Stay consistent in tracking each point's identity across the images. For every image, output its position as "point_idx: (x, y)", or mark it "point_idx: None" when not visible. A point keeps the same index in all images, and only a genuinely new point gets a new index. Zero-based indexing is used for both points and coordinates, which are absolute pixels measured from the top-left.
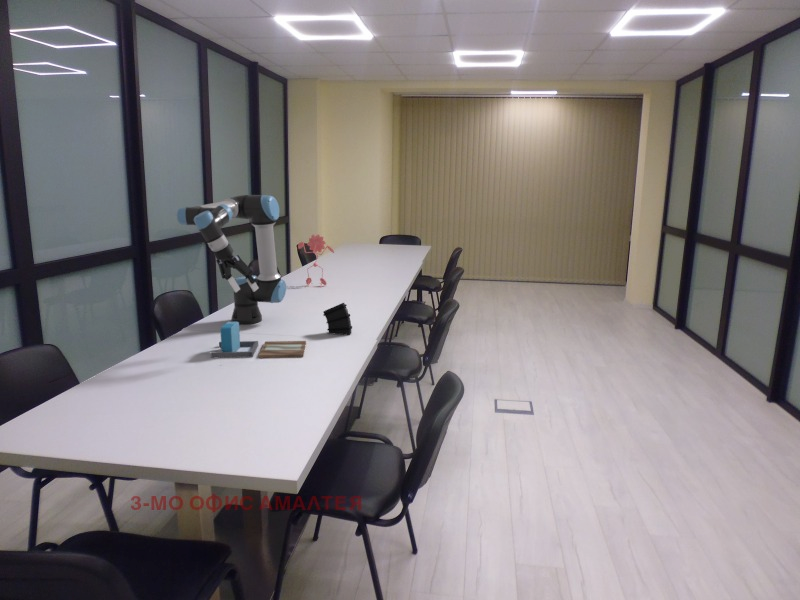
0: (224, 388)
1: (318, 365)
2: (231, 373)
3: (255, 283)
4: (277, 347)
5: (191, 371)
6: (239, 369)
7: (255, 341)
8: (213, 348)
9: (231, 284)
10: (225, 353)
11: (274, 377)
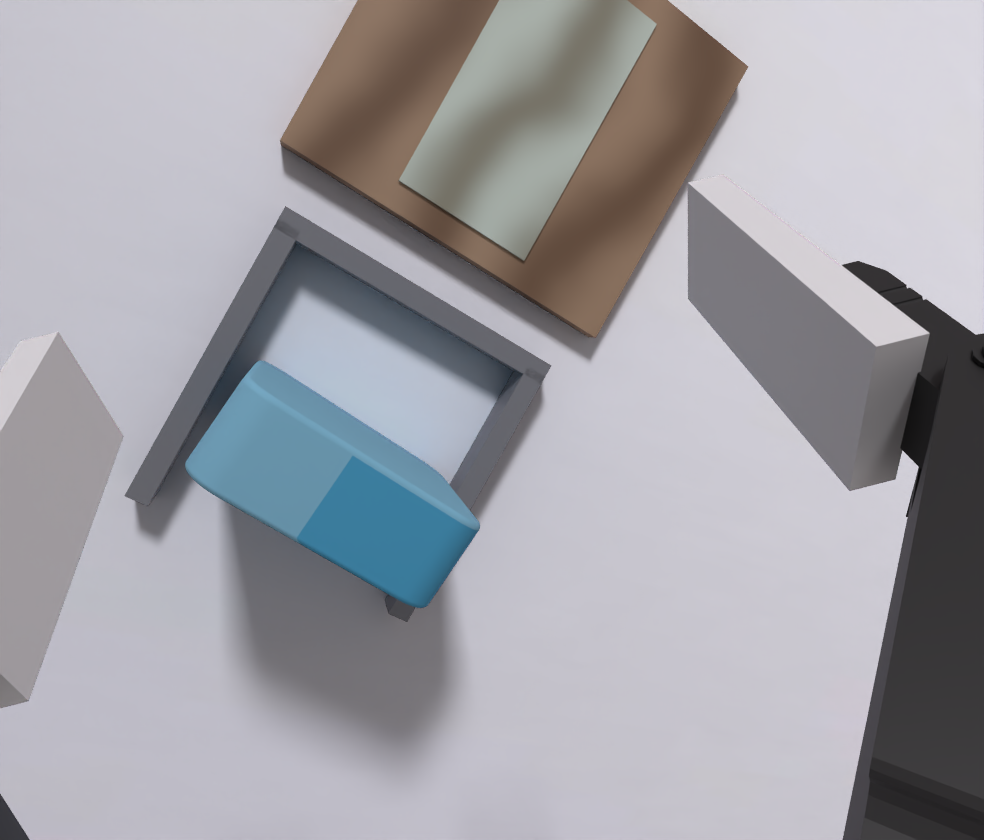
0: None
1: (919, 84)
2: (749, 571)
3: (783, 235)
4: (509, 141)
5: (594, 756)
6: (716, 515)
7: (286, 232)
8: (174, 544)
9: (64, 570)
10: None
11: None
